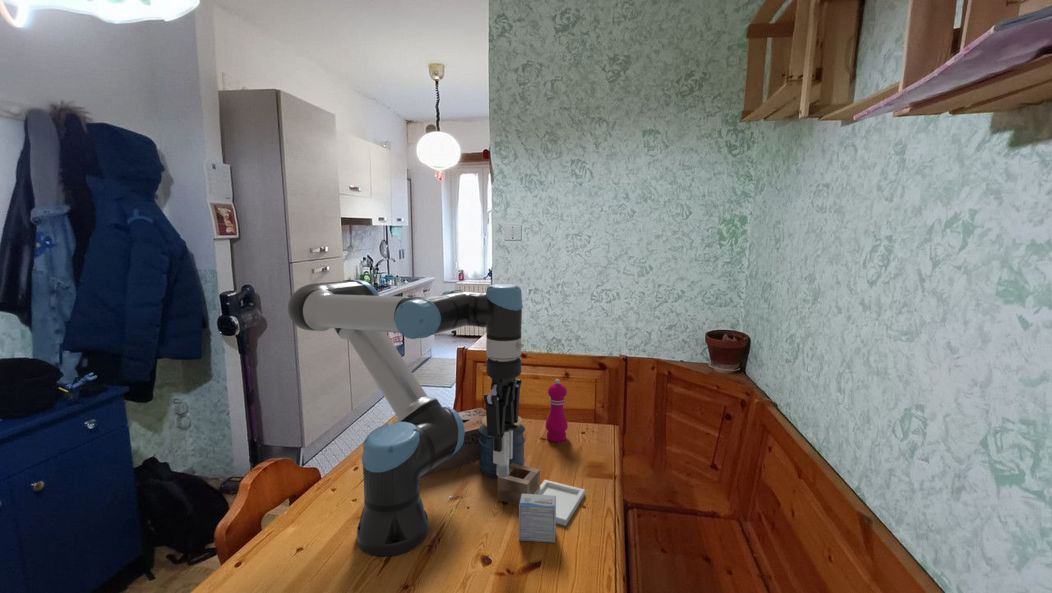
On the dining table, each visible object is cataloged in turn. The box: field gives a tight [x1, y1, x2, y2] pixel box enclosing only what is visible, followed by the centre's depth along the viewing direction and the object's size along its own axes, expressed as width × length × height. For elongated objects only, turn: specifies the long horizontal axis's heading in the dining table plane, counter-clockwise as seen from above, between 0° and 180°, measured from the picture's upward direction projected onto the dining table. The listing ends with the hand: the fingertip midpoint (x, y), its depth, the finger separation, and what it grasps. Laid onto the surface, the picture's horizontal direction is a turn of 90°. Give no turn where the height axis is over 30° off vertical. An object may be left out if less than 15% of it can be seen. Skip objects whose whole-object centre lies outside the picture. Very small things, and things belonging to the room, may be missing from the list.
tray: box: [534, 479, 586, 527], centre depth 112 cm, size 11×14×2 cm
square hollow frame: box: [497, 463, 541, 506], centre depth 115 cm, size 8×8×6 cm
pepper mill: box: [545, 378, 569, 443], centre depth 148 cm, size 7×7×20 cm
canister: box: [478, 415, 526, 479], centre depth 128 cm, size 13×13×18 cm
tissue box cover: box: [421, 407, 486, 477], centre depth 137 cm, size 26×14×10 cm, turn 122°
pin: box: [497, 429, 509, 477], centre depth 100 cm, size 3×3×10 cm
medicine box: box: [518, 494, 557, 544], centre depth 99 cm, size 8×4×9 cm, turn 84°
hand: (502, 460), depth 100 cm, fingers closed on pin, 2 cm apart
